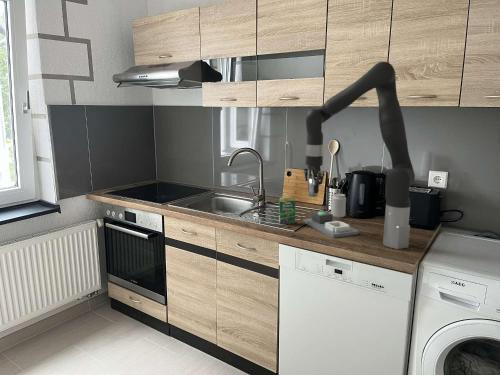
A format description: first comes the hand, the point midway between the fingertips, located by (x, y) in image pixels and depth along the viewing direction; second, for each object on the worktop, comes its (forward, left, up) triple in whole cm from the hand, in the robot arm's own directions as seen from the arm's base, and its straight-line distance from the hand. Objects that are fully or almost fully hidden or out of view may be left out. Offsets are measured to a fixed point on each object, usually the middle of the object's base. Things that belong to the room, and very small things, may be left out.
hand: (313, 192), depth 166 cm
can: (+18, -27, -19) cm, 38 cm away
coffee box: (+16, +5, -19) cm, 26 cm away
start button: (+9, -11, -16) cm, 22 cm away
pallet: (+2, -11, -19) cm, 22 cm away
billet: (0, 0, -2) cm, 2 cm away
